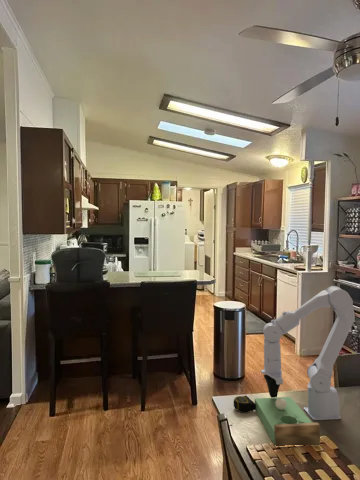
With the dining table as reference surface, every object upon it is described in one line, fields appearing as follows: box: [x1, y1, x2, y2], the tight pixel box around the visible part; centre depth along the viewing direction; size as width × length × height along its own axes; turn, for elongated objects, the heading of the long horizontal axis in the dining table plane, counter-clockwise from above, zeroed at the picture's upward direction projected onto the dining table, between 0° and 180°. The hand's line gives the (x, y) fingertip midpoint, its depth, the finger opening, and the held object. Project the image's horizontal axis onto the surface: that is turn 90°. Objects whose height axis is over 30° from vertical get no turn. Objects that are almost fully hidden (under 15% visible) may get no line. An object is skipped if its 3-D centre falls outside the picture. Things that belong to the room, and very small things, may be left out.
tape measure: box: [233, 395, 256, 413], centre depth 119 cm, size 7×7×4 cm
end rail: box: [274, 422, 321, 446], centre depth 97 cm, size 13×1×6 cm, turn 93°
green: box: [254, 396, 319, 446], centre depth 107 cm, size 13×22×4 cm, turn 3°
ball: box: [275, 397, 287, 410], centre depth 110 cm, size 4×4×4 cm
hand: (273, 396), depth 118 cm, fingers closed
